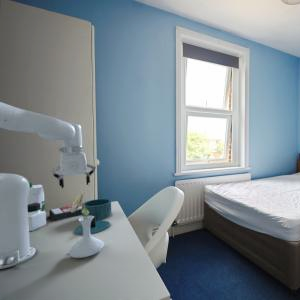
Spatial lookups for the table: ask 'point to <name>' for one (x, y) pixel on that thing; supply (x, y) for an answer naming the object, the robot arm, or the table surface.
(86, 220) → the flower in vase
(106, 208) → the tin
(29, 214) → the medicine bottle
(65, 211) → the calculator
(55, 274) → the table surface
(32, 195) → the milk carton
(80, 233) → the lid
